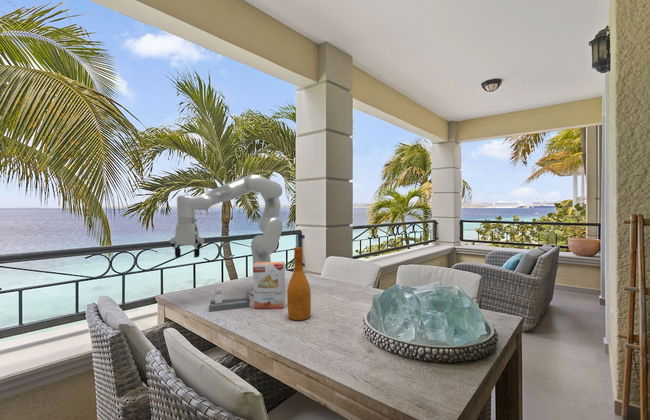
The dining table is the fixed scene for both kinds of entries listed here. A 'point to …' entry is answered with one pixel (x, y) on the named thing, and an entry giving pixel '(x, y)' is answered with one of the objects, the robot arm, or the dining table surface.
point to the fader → (218, 297)
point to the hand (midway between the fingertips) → (187, 257)
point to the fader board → (230, 303)
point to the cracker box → (269, 284)
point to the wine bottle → (298, 291)
